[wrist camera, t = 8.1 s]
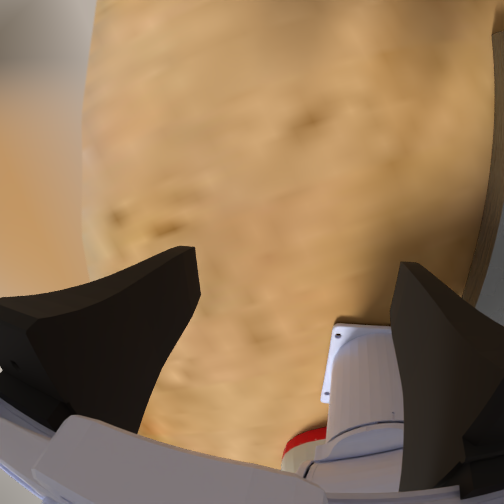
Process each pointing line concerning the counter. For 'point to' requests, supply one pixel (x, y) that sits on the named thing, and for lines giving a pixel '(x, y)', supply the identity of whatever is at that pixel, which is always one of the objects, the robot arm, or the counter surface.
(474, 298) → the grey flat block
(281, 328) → the counter surface
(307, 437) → the white and red dome
